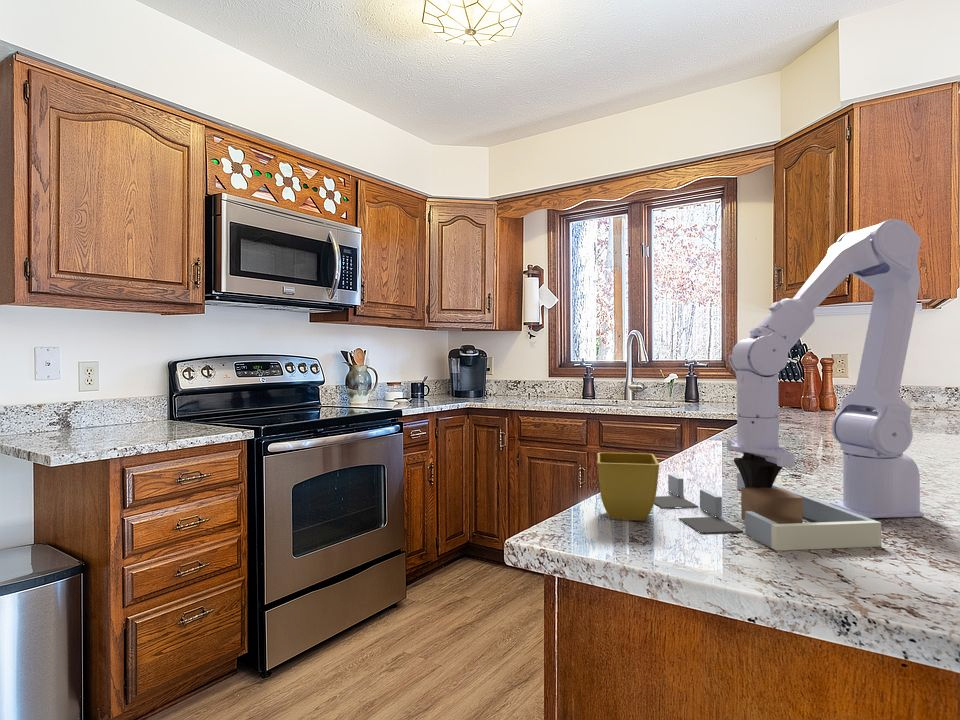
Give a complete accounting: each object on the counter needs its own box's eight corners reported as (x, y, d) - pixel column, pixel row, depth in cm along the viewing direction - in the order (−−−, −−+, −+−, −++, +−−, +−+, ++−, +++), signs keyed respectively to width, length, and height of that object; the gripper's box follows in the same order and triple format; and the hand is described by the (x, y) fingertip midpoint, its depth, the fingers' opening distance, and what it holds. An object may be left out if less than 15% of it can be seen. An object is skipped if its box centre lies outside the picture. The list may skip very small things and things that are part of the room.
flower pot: (660, 526, 81) (659, 463, 81) (597, 523, 83) (597, 462, 83) (654, 510, 90) (653, 453, 90) (597, 507, 92) (597, 452, 92)
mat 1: (679, 496, 98) (679, 495, 98) (698, 507, 91) (698, 506, 91) (645, 497, 97) (645, 496, 97) (662, 508, 90) (662, 507, 90)
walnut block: (782, 518, 85) (782, 487, 85) (802, 530, 79) (802, 497, 79) (741, 517, 85) (741, 487, 85) (758, 529, 79) (757, 497, 79)
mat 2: (717, 518, 85) (717, 516, 85) (743, 532, 78) (743, 530, 78) (678, 519, 84) (678, 518, 84) (701, 533, 78) (701, 532, 78)
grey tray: (742, 488, 104) (742, 472, 104) (875, 543, 73) (875, 520, 73) (668, 490, 102) (668, 474, 102) (771, 548, 72) (771, 524, 72)
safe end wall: (875, 543, 73) (875, 520, 73) (881, 546, 72) (881, 522, 72) (771, 548, 72) (771, 524, 72) (776, 550, 71) (776, 526, 71)
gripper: (709, 412, 93) (709, 494, 93) (760, 422, 79) (760, 519, 79) (750, 411, 94) (750, 493, 94) (808, 421, 80) (808, 518, 80)
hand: (758, 505), depth 87 cm, fingers closed
